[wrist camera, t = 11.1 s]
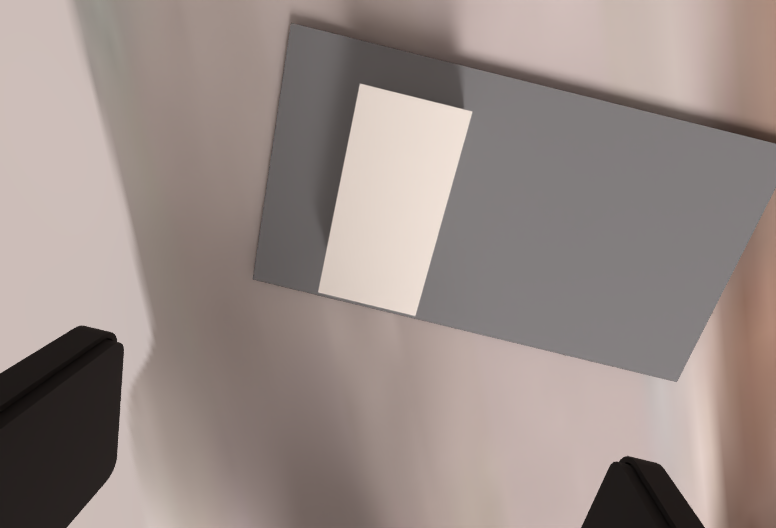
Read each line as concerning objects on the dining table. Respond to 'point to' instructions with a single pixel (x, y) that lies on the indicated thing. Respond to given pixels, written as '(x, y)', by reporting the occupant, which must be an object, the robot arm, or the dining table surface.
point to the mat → (529, 206)
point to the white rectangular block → (392, 198)
